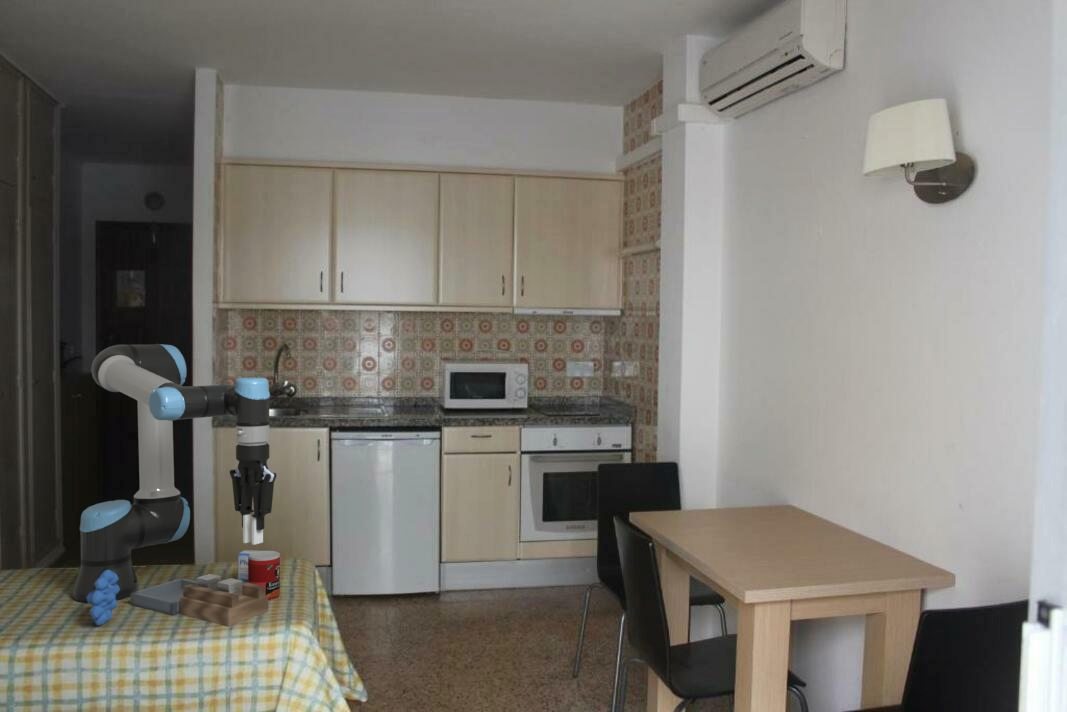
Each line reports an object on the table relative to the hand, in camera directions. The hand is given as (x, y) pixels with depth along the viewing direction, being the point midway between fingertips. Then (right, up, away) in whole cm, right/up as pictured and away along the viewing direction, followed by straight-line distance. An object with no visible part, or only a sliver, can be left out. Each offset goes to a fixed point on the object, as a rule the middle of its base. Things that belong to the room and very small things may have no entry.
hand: (253, 542), depth 200 cm
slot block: (-9, -18, +5) cm, 21 cm away
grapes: (-35, -19, -2) cm, 40 cm away
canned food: (-3, -18, +18) cm, 26 cm away
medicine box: (-9, -18, +30) cm, 36 cm away
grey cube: (-7, -14, +4) cm, 17 cm away
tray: (-24, -18, +14) cm, 33 cm away
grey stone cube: (-14, -14, +8) cm, 21 cm away
